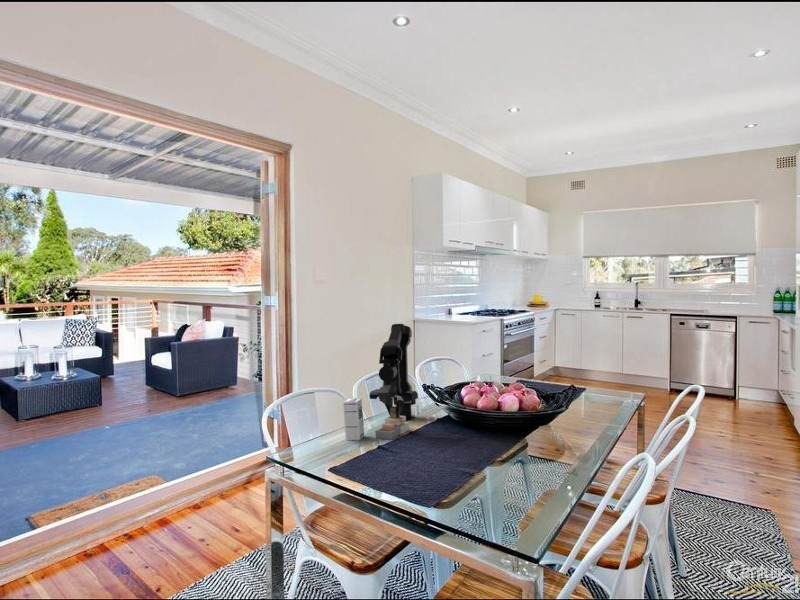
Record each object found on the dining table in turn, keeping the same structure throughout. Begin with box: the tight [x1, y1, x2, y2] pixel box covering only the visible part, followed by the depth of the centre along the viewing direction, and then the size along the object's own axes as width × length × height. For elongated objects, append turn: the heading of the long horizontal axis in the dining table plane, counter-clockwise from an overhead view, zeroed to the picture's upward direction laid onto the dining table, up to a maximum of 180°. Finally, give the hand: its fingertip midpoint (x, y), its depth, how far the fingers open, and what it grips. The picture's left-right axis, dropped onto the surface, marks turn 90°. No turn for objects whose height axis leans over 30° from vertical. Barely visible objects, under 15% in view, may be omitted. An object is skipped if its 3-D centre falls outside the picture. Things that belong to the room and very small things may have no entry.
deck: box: [395, 421, 410, 435], centre depth 186 cm, size 7×7×3 cm
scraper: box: [384, 405, 407, 425], centre depth 185 cm, size 6×6×6 cm
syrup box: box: [342, 397, 365, 441], centre depth 181 cm, size 6×6×14 cm
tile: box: [381, 422, 395, 432], centre depth 181 cm, size 4×4×2 cm
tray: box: [374, 427, 402, 441], centre depth 180 cm, size 7×7×3 cm
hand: (394, 417), depth 185 cm, fingers closed on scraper, 2 cm apart
